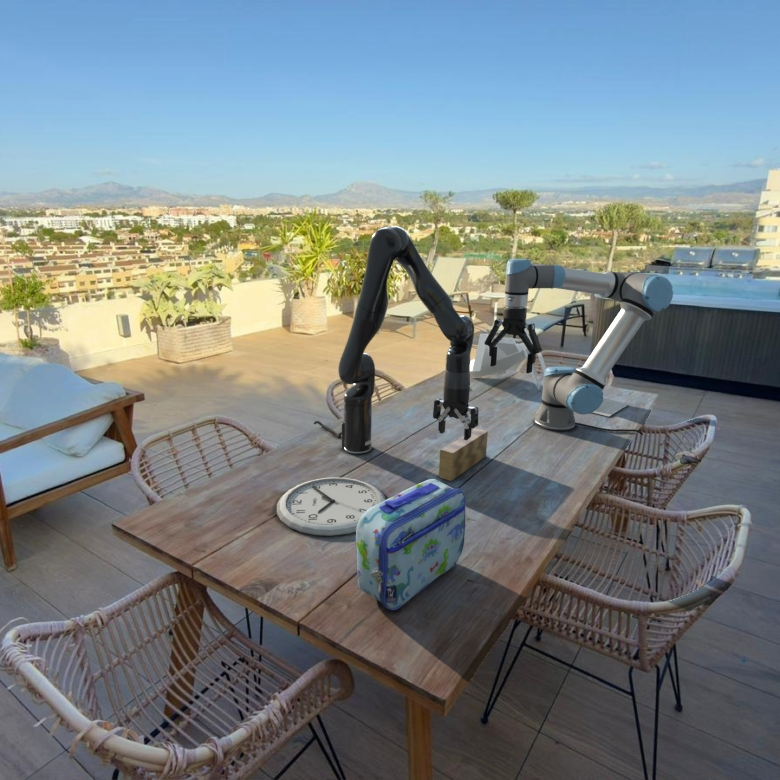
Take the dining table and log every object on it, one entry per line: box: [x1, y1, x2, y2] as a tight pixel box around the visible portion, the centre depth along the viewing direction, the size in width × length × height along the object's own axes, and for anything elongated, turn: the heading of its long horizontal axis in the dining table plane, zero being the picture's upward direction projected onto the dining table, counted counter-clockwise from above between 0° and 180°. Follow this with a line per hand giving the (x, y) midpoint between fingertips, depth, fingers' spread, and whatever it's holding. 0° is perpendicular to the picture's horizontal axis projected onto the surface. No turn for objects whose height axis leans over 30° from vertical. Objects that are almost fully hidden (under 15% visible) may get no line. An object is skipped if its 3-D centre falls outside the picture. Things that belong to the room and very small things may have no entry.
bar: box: [438, 427, 489, 482], centre depth 166 cm, size 23×4×9 cm, turn 143°
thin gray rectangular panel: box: [591, 398, 629, 418], centre depth 226 cm, size 21×1×15 cm
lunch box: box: [355, 478, 466, 611], centre depth 110 cm, size 26×11×21 cm, turn 134°
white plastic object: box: [470, 328, 548, 391], centre depth 259 cm, size 37×45×31 cm
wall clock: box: [276, 476, 387, 537], centre depth 142 cm, size 30×2×30 cm
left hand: (454, 436), depth 158 cm, fingers open, 8 cm apart
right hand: (510, 369), depth 179 cm, fingers open, 13 cm apart
